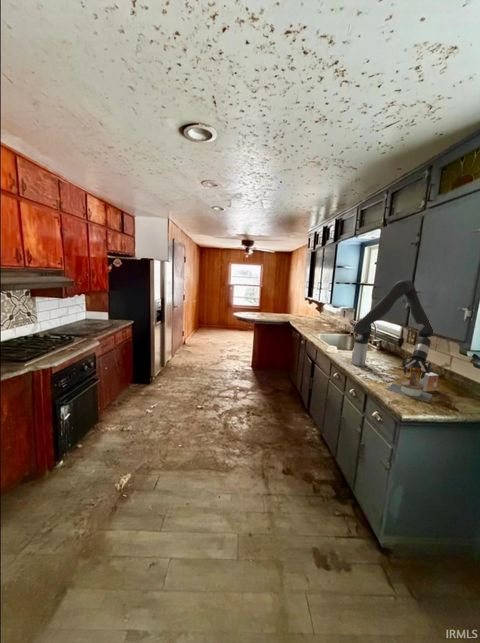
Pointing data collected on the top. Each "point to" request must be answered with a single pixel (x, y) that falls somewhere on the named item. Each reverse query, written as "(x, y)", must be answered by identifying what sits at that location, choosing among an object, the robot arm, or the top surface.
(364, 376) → the top surface
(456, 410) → the top surface
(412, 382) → the lid
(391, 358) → the top surface
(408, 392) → the bowl
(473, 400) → the top surface
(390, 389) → the mat
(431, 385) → the small box
